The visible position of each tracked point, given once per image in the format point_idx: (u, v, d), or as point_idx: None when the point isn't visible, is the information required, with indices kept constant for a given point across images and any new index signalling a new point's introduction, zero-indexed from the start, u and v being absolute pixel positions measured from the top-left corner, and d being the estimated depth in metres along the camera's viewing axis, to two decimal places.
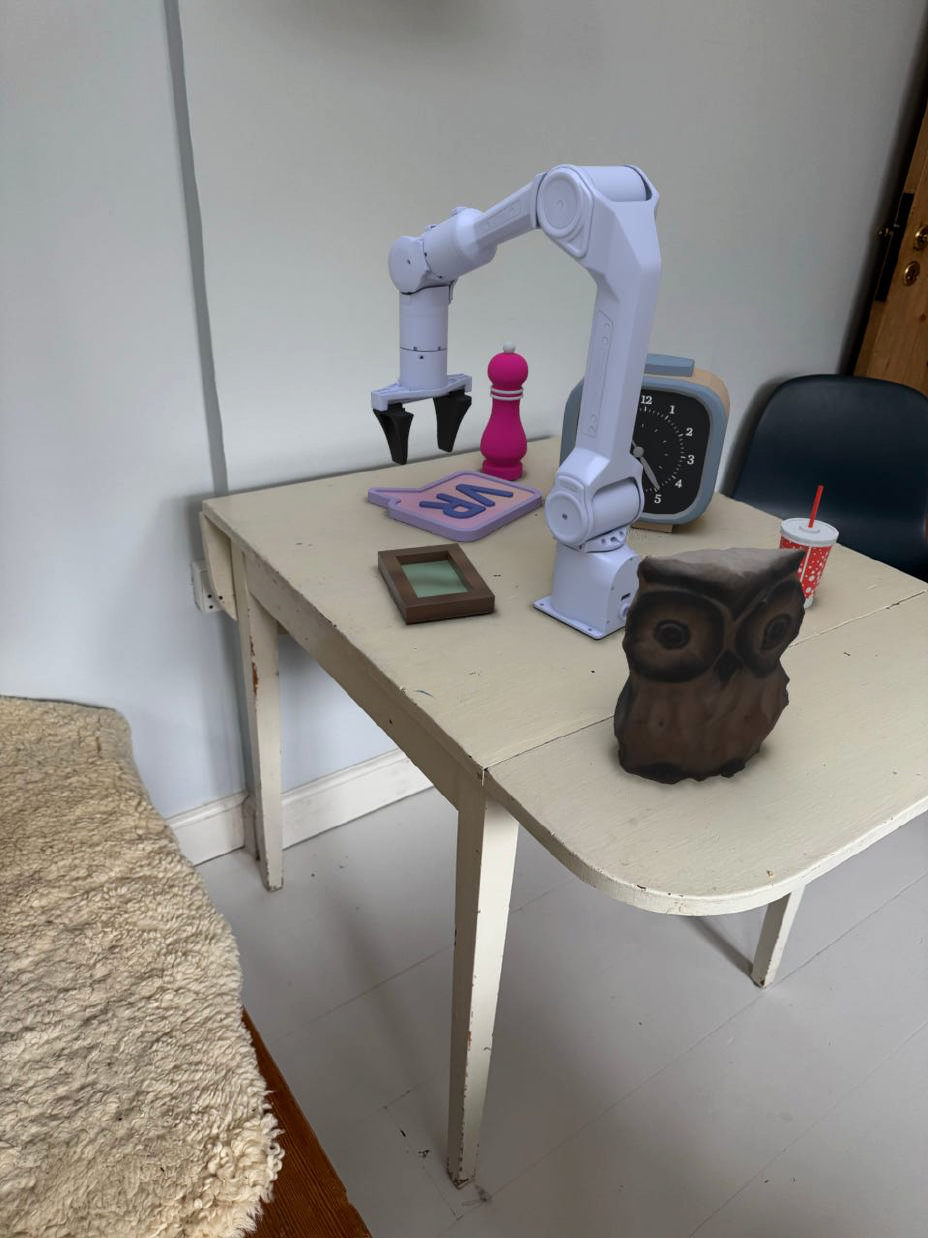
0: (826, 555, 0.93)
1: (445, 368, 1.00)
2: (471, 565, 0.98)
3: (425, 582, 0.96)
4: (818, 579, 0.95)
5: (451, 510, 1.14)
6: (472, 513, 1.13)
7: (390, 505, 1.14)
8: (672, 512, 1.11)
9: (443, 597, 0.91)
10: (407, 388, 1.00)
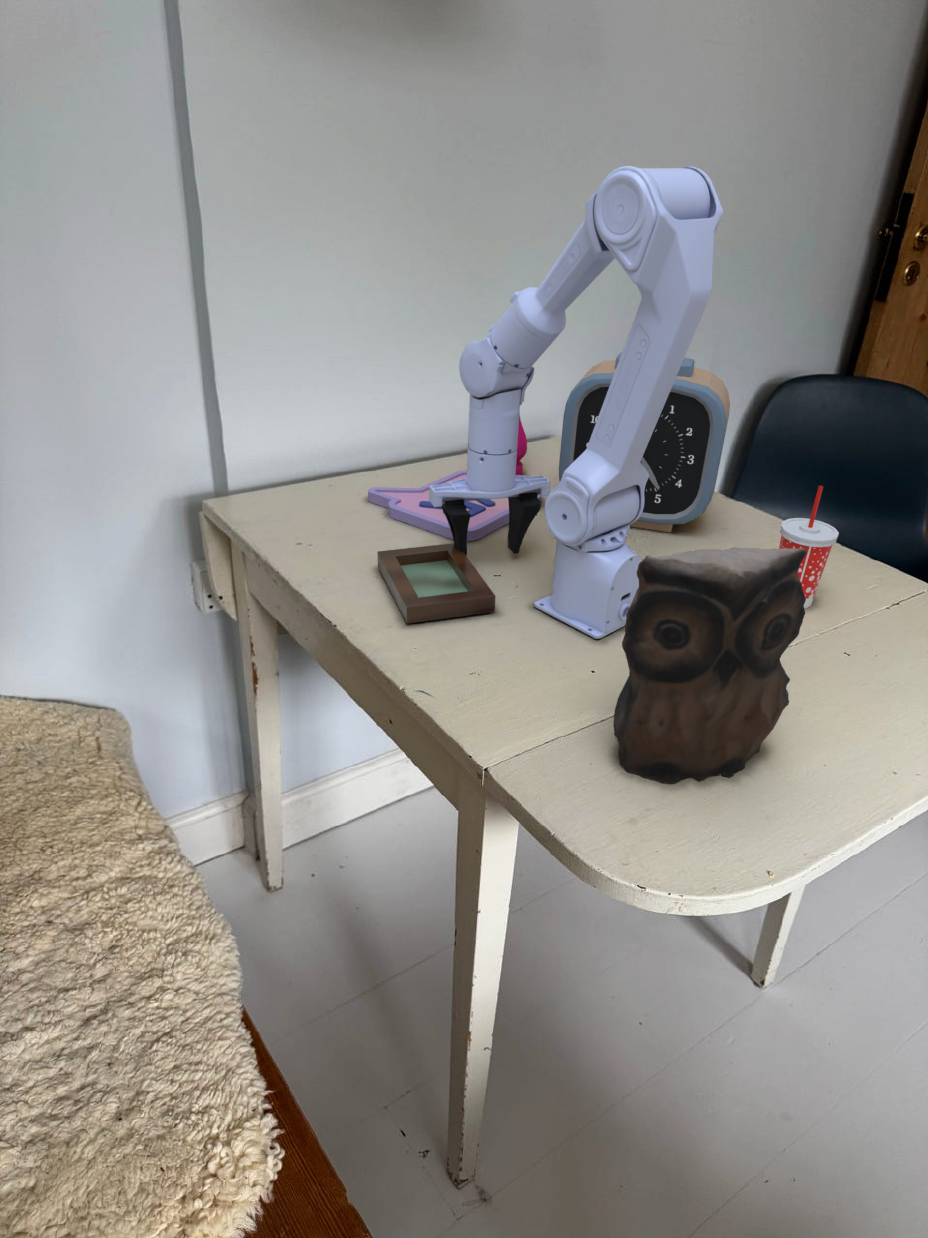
0: (826, 555, 0.93)
1: (509, 472, 0.96)
2: (471, 565, 0.98)
3: (425, 582, 0.96)
4: (818, 579, 0.95)
5: None
6: (472, 513, 1.13)
7: (390, 505, 1.14)
8: (672, 512, 1.11)
9: (444, 597, 0.91)
10: (469, 486, 0.98)
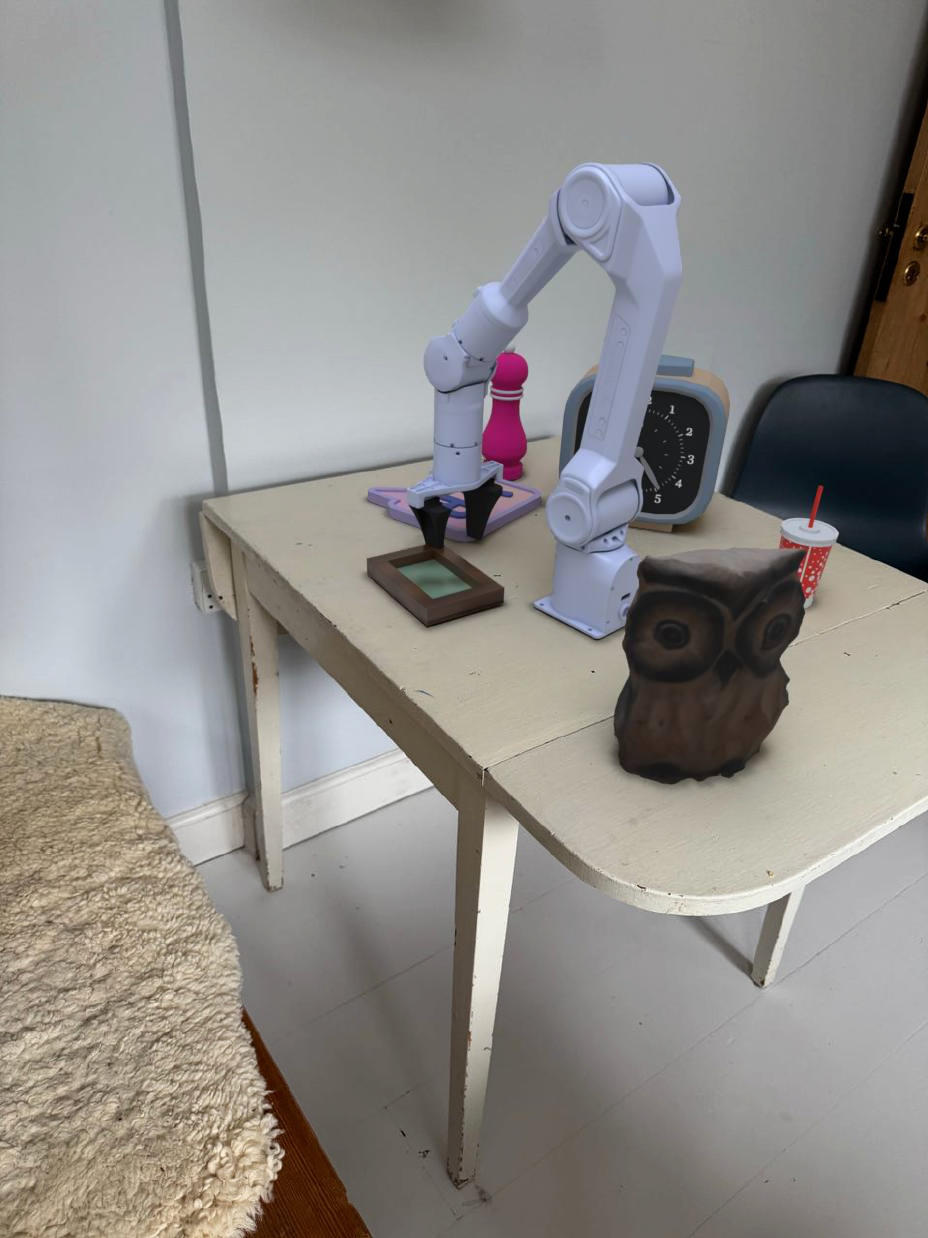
0: (826, 555, 0.93)
1: (480, 462, 0.99)
2: (465, 561, 0.99)
3: (425, 583, 0.96)
4: (818, 579, 0.95)
5: None
6: None
7: (390, 505, 1.15)
8: (672, 512, 1.11)
9: (457, 595, 0.91)
10: (442, 482, 0.98)
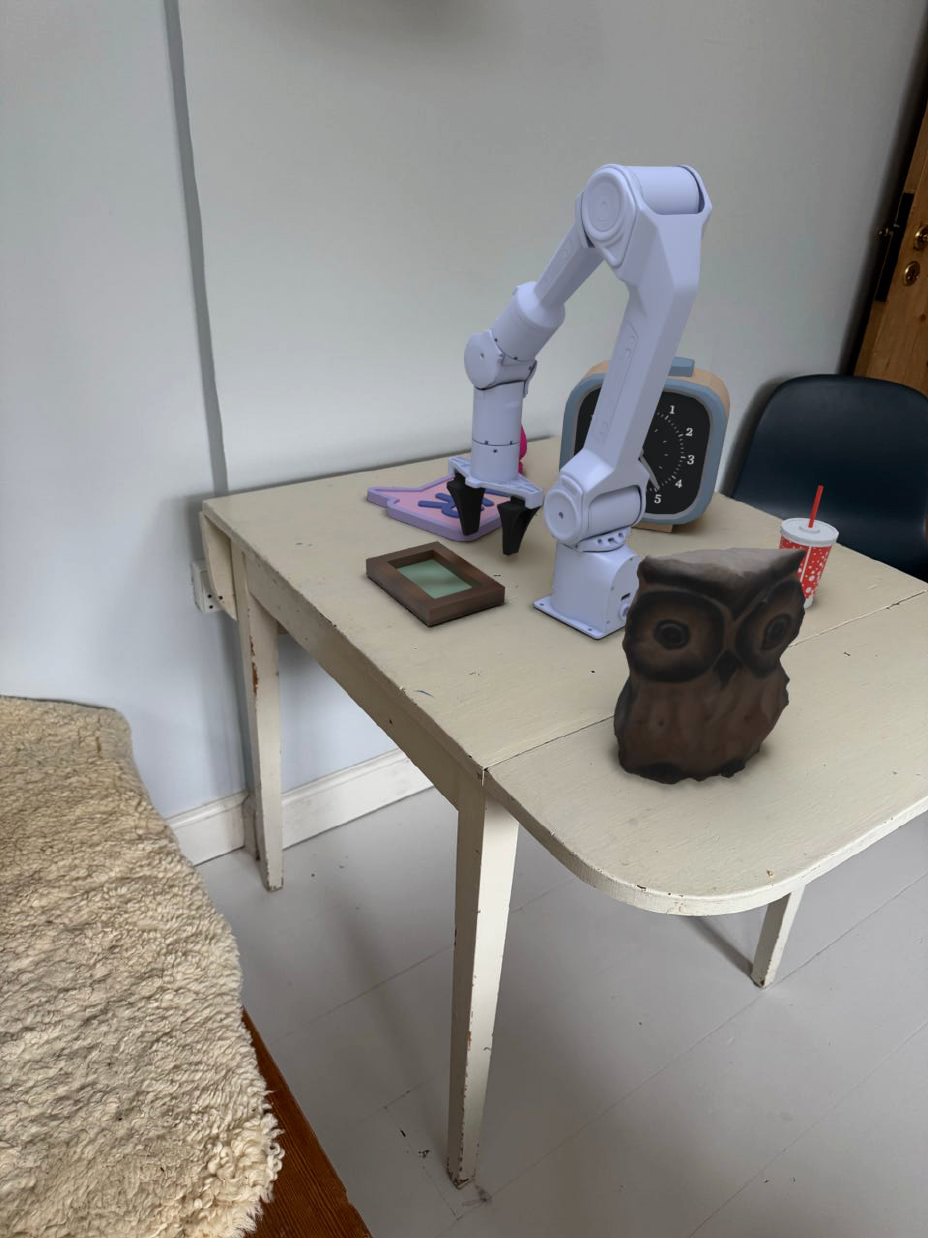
0: (826, 555, 0.93)
1: None
2: (464, 560, 0.99)
3: (425, 583, 0.96)
4: (818, 579, 0.95)
5: (449, 510, 1.14)
6: None
7: (389, 504, 1.15)
8: (672, 512, 1.11)
9: (458, 594, 0.91)
10: (514, 479, 0.99)
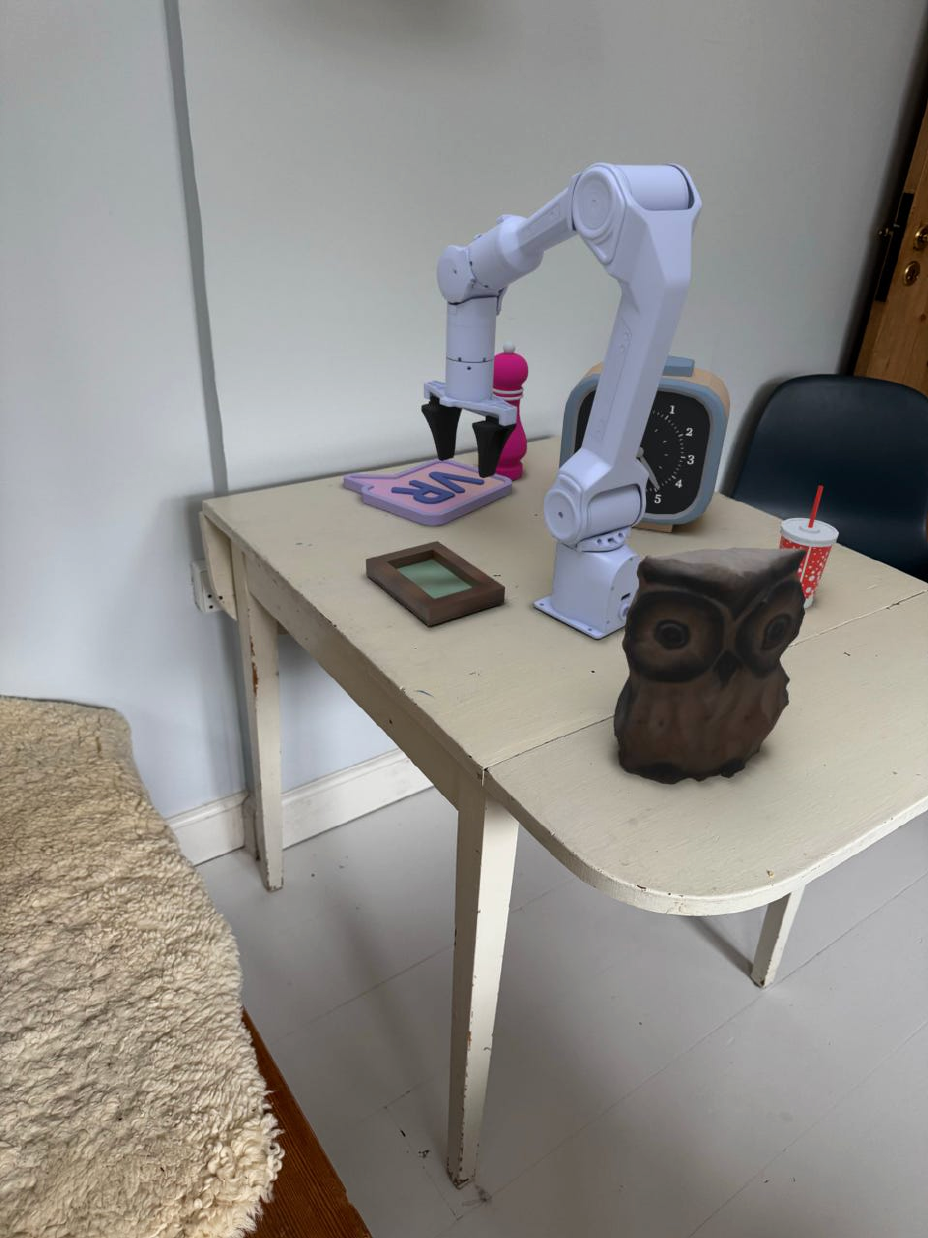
0: (826, 555, 0.93)
1: None
2: (464, 560, 0.99)
3: (425, 583, 0.96)
4: (818, 579, 0.95)
5: (421, 496, 1.18)
6: (441, 499, 1.17)
7: (363, 490, 1.19)
8: (672, 512, 1.11)
9: (458, 594, 0.91)
10: (488, 398, 0.99)
